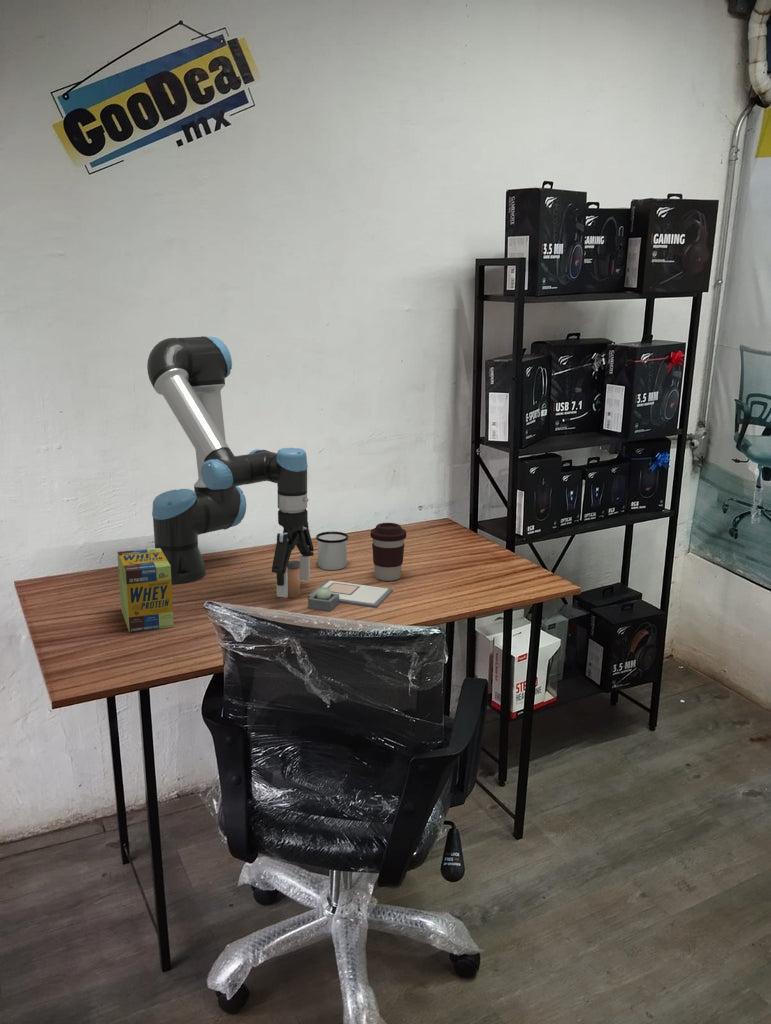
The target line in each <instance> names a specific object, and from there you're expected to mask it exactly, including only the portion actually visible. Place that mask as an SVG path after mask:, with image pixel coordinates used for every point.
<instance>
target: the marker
mask: <svg viewBox="0 0 771 1024" xmlns="http://www.w3.org/2000/svg"><path fill="white" fill-rule="evenodd" d="M286 572H287V578H288V597H287V598H289V599H298V598H300V597H301V580H300V562H299V560H289V562H288V565H287V569H286Z"/></svg>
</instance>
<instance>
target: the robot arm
mask: <svg viewBox="0 0 771 1024" xmlns="http://www.w3.org/2000/svg"><path fill="white" fill-rule="evenodd" d="M231 355H232V354H231V352H230V350H229V348H228V346H227V345H226V344H225V342H224V341H222V340H221V339H220V338H218V337H215V336H191V337H186V336H185V337H167V338H165V339H162V340H160V341H159V342H157V344H155V345H154V347H152V349H151V351H150V352H149V355H148V359H147V364H146V368H147V375H148V378H149V379H148V380H149V382H150V384H151V385H152V387H153V389H154V391H155V392H156V393H157V394H158V395H161V396H162V397H163V398H164V400H165V401H166V403H167V404H168V407H169V408H170V410H171V412H172V413H173V415H174V417H176V420H177V421H178V423H179V425H180V426H181V428H182V430H183V432H184V434H186V436H187V438H188V440H189V441H190V443H191V444H192V447H193V448H194V450H195V458H196V466H197V467H196V468H197V476H198V479H197V481H196V482H195V483H194V484H193V489H191V488H190V489H189V488H180V489H171V490H170V489H169V490H168V491H164V492H162V493H160V494H158V495H157V496H155V498H154V499H153V501H152V510H151V511H152V512H151V515H152V523H153V524H152V525H153V536H154V537H153V539H154V540H153V541H154V548H160V549H161V550H162V552H163V554H164V555H165V557H166V559H167V560H168V562H169V564H170V565H171V581H172V585H173V584H185V583H191V582H194V581H197V580H198V581H199V579H202V578H204V576H206V574H207V573H206V564H205V561H204V558H203V557H202V554H201V551H200V548H199V537H198V536H200V535H203V534H207V533H211V532H216V531H220V530H224V531H225V530H228V529H229V528H233V527H235V526H238V525H240V524H241V522H243V521H242V520H244V518H245V516H246V511H247V500H246V496H245V494H244V491H243V490H242V489H241V487H239V486H243V485H244V486H245V485H251V484H256V483H257V484H258V483H262V482H270V483H274V484H277V485H276V486H277V509H278V511H277V521H278V522H277V523H278V525H279V526H281V527H282V528H283V531H282V533H277V534H276V544H275V549H274V555H273V561H272V566H271V573H275V574H276V577H275V578H276V597H280V598H286V599H287V598H289V597H288V575H287V565H288V562H289V561H290V557H291V556H292V555H291V554H292V551H293V550H295V548H296V547H297V550H298V551H299V553H300V555H299V556H298V557H299V558H298V561H299V562H300V581H301V580H302V581H310V580H311V579H310V578H311V561H310V560H311V559H310V558H311V557H313V556H314V548H315V547H314V544H313V541H312V537H311V533H310V529H309V522H308V510H307V508H308V502H309V498H308V468H309V467H308V459H307V452H306V451H305V449H303V448H298V447H297V448H296V447H284V448H280V449H278V450H277V452H273V451H270V450H267V449H257V448H255V449H253V450H252V451H250V452H249V453H247V454H240V455H235V454H234V453H233V451H232V450H231V448H230V447H229V445H228V444H227V441H226V433H225V431H226V430H225V423H224V414H223V413H224V412H223V411H224V410H223V405H222V393H221V391H222V389H223V388H224V387H225V386H226V378H228V377H229V376H230V374H231V370H232V369H233V368H232V367H233V361H232V356H231Z"/></svg>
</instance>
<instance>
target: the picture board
mask: <svg viewBox="0 0 771 1024" xmlns="http://www.w3.org/2000/svg"><path fill="white" fill-rule="evenodd" d="M321 587H326V588H330V589H331V593H335V594H339V604H347V605H353V606H355V605H356V606H360V605H361V606H360V607H368V608H374V607H376V608H378V607H379V606H380V605H381V604H382V603H383V602H384V601H385V600H386V599H387V598H388V597H389V596H390V595H391V594H392V593H393V592H394V588H389V587H388V588H387V587H380V586H374V585H373V586H372V585H366V584H360V583H350V582H346V581H345V582H344V581H337V580H331V579H330V580H329V579H328V580H325V582H323V583H321V585H319V586H318V587H317V588H316V589H314V590H313V591H312V592H310V594H308V595H307V598H308V599H309V598H310V597H311V596H312V595H313V594H315V593H316V592H317V589H318V588H321ZM376 608H375V609H376Z"/></svg>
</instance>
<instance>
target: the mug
mask: <svg viewBox="0 0 771 1024" xmlns="http://www.w3.org/2000/svg"><path fill="white" fill-rule="evenodd" d="M349 536H350V535H348V534H347V533H346V532H341V531H324V532H320V533H317V534H316V535H315V540H316V541H317V566H318V568H320V569H322V570H326V571H338V570H342V569H344V568H346V567H347V566H348V565H347V563H348V561H347V559H348V557H347V555H348V553H347V551H348V550H347V548H348V547H347V545H348V542H347V541H348V540H349Z"/></svg>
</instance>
